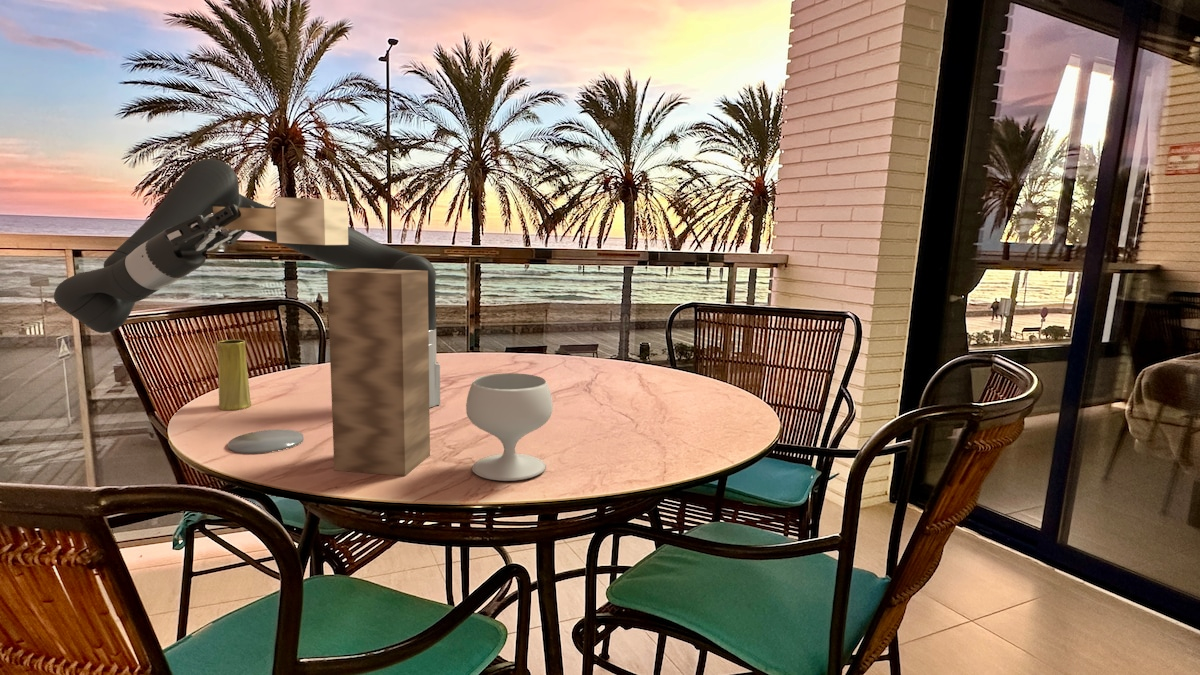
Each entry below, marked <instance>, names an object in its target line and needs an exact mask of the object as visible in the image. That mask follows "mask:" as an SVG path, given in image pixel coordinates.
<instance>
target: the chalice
mask: <svg viewBox="0 0 1200 675" xmlns="http://www.w3.org/2000/svg"><path fill="white" fill-rule="evenodd" d="M465 404H466V405H465V407H466V410H465V411H466V416H467V418H468V419H469V421H470V422H471V423H472V425H473V426H475V427H477V428H478V429H479V430H481V431H484V432H486V433H488V434H491V435H492V436H494V437H496V438H497V439H498V440H499V441H500V443H501V444H502V446H503V452H502V453H500V454H494V455H489V456H486V457H483V458H481V459H478V460H477V461H475V462H474V463H473V465H472V467H471V470H472V472H473V473H474V474H475V475H477V476H478V477H480V478H483V479H486V480H492V481H501V482H502V481H504V482H509V481H510V482H511V481H512V482H513V481H522V480H523V481H524V480H527V479H532V478H535V477H538V476H539V475H541V474H542V473H544V472H545V471H546V470H547V464H546V463H545V462H544V460H542V459H541V458H538V457H536V456H533V455H529V454H521V453H516V447H517V444H518V442H519V441H520V440H521V439H522V438H523V437H525V436H526V435H528V434H530V433H532V432H534V431H536V430H538V429H541V427H543V426H544V425H545V424H547V422H548V421H550V419H551V416H552V414H553V409H554V408H553V407H554V403H553V396H552V392H551V388H550V386H549V385H548V382H547V381H546V379H545V378H543V377H541V376H538V375H535V374H528V373H516V372H515V373H514V372H513V373H512V372H511V373H506V372H505V373H493V374H487V375H482V376H479V377H477V378H475V379H474V380H473V381H472V384H471V385H470V388H469V390H468V394H467V396H466V403H465Z"/></svg>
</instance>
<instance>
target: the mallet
mask: <svg viewBox="0 0 1200 675" xmlns="http://www.w3.org/2000/svg"><path fill="white" fill-rule="evenodd" d="M274 203H275V208H276V209H264V208H239V207H238V209H239V211H240V213H241V216H240V217H239V218H237V219H236V220H234V221H232V222H231V223H229V224H228V225H226V226H224V227H223V226H221V227H222V228H221V229H234V230H257V231H277V243H276V244H278V243H291V244H312V245H348V227H349V218H348V217H349V210H348V201H345V200H335V199H327V198H309V197H307V198H304V197H282V196H278V197H277V196H275V202H274ZM223 208H225V207H214V206H213V214H214V215H215V213H217V212H219V211H220V210H222V209H223Z"/></svg>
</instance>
